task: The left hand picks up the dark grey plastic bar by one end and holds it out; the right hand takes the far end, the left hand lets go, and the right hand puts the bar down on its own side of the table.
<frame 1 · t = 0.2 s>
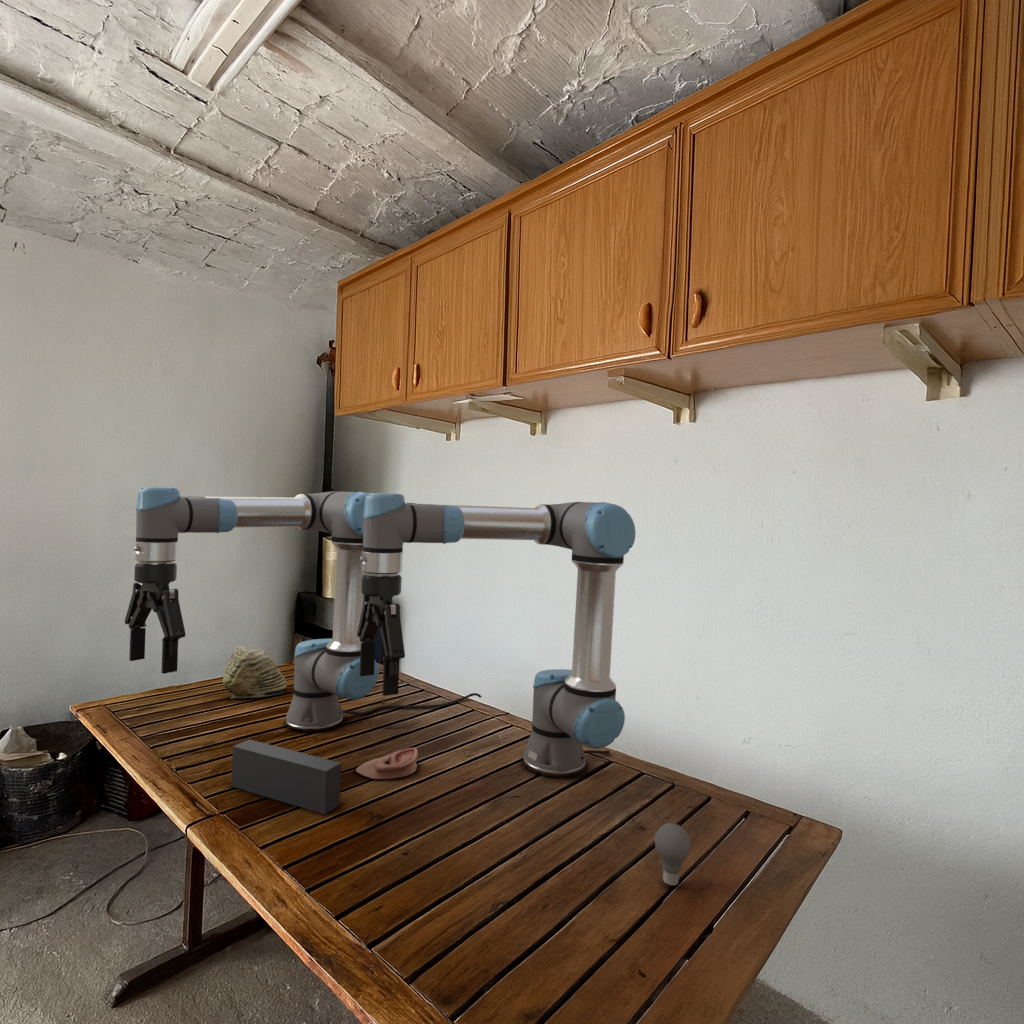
left hand: (152, 665, 130), 27 cm above the table, tool pointing down, fingers open, 13 cm apart
right hand: (378, 684, 121), 28 cm above the table, tool pointing down, fingers open, 13 cm apart
fossil: (254, 694, 198), on the table
light bulb: (670, 884, 108), on the table
bar: (284, 795, 134), on the table
anatomical model: (387, 770, 148), on the table
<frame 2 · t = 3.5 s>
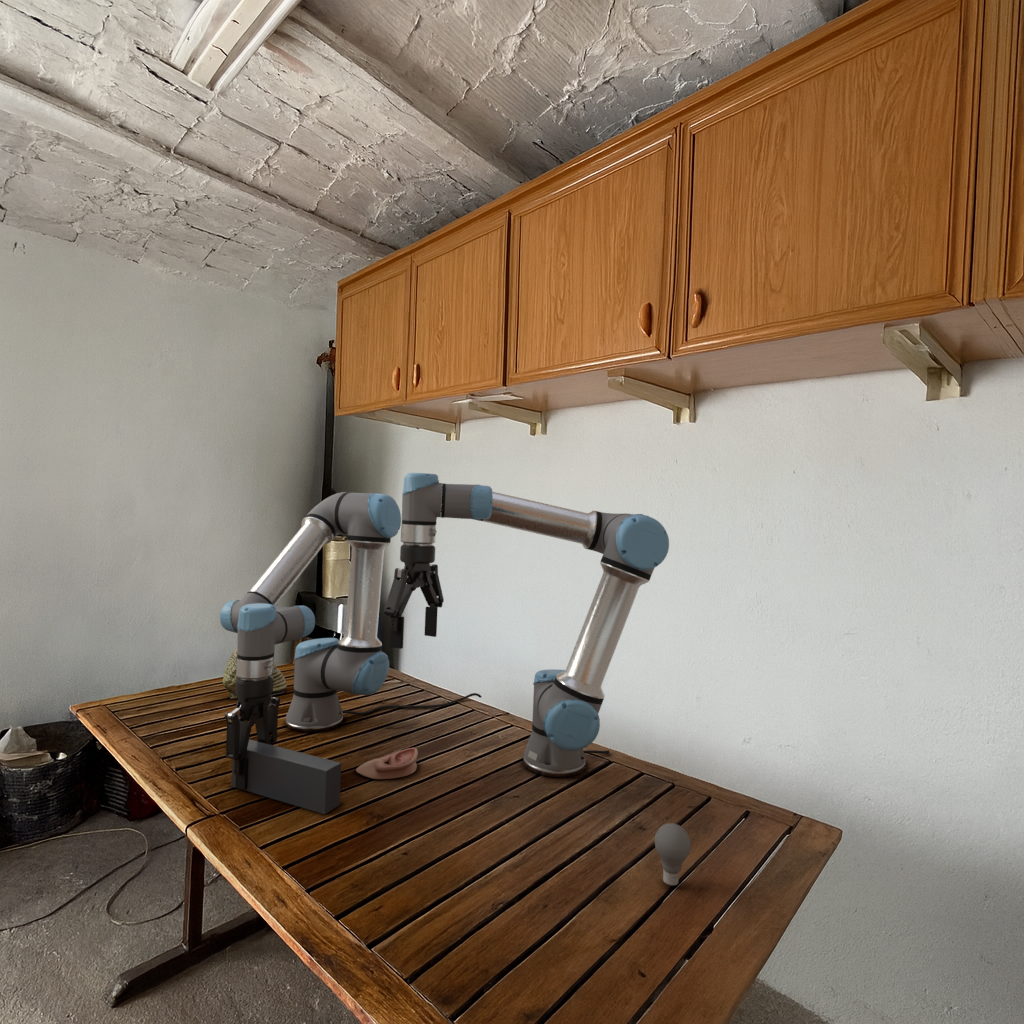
left hand: (251, 782, 137), 1 cm above the table, tool pointing down, fingers closed on bar, 5 cm apart
right hand: (414, 641, 138), 33 cm above the table, tool pointing down, fingers open, 13 cm apart
bar: (284, 795, 134), on the table, touching left hand
everything else where it was.
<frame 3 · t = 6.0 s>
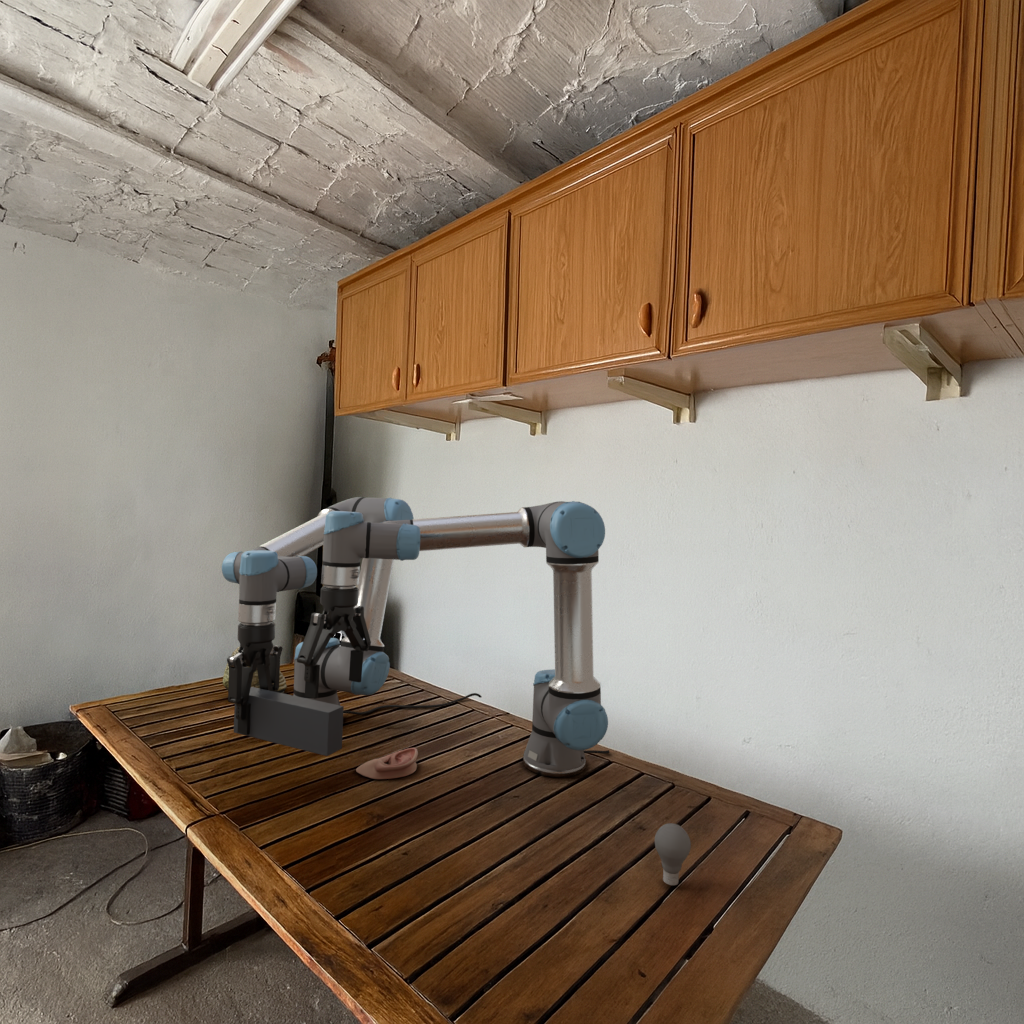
left hand: (253, 729, 137), 12 cm above the table, tool pointing down, fingers closed on bar, 5 cm apart
right hand: (334, 688, 130), 24 cm above the table, tool pointing down, fingers open, 13 cm apart
bar: (286, 740, 133), point 12 cm above the table, touching left hand
everything else where it was.
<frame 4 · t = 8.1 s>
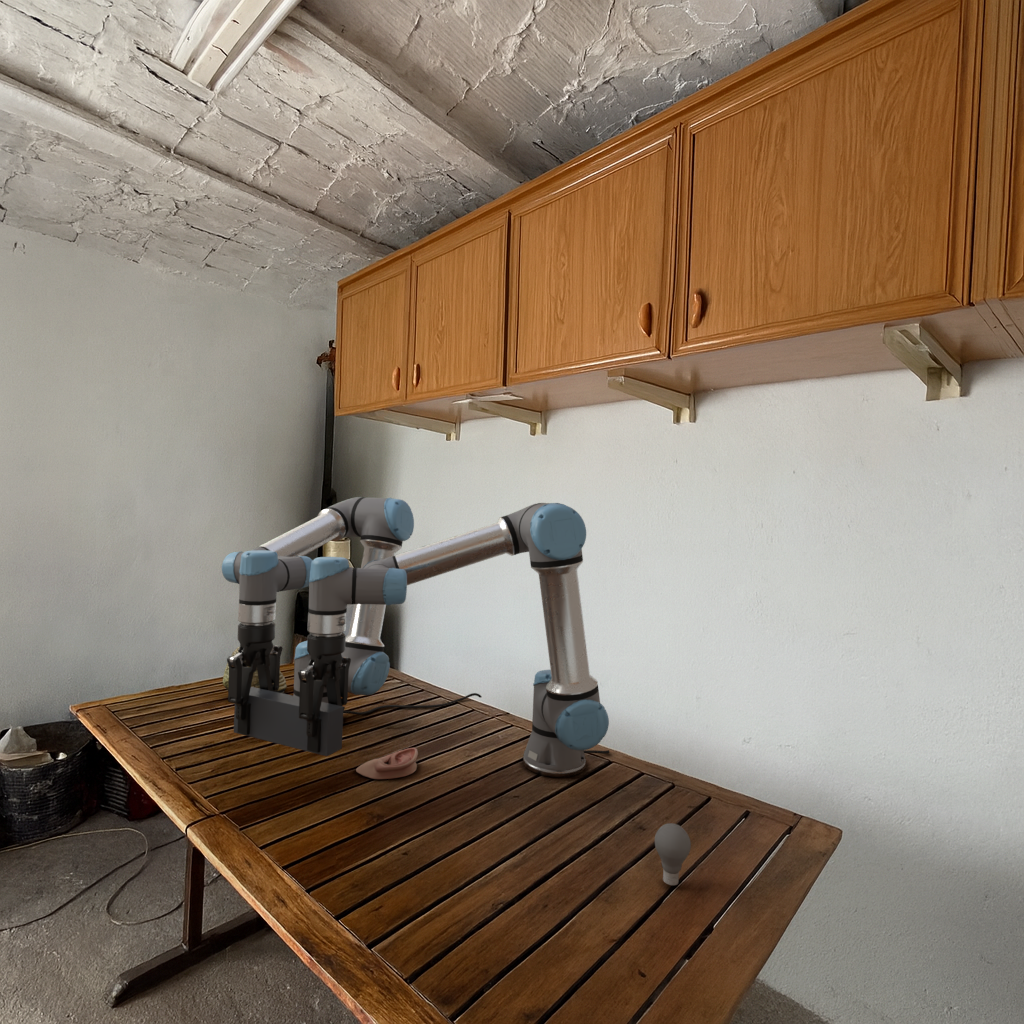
left hand: (253, 729, 137), 12 cm above the table, tool pointing down, fingers closed on bar, 5 cm apart
right hand: (322, 746, 130), 12 cm above the table, tool pointing down, fingers closed on bar, 5 cm apart
bar: (286, 740, 133), point 12 cm above the table, touching left hand, right hand
everything else where it was.
when the left hand's fingers open (12 cm above the table, at t = 8.6 s): bar stays where it is, held by the right hand.
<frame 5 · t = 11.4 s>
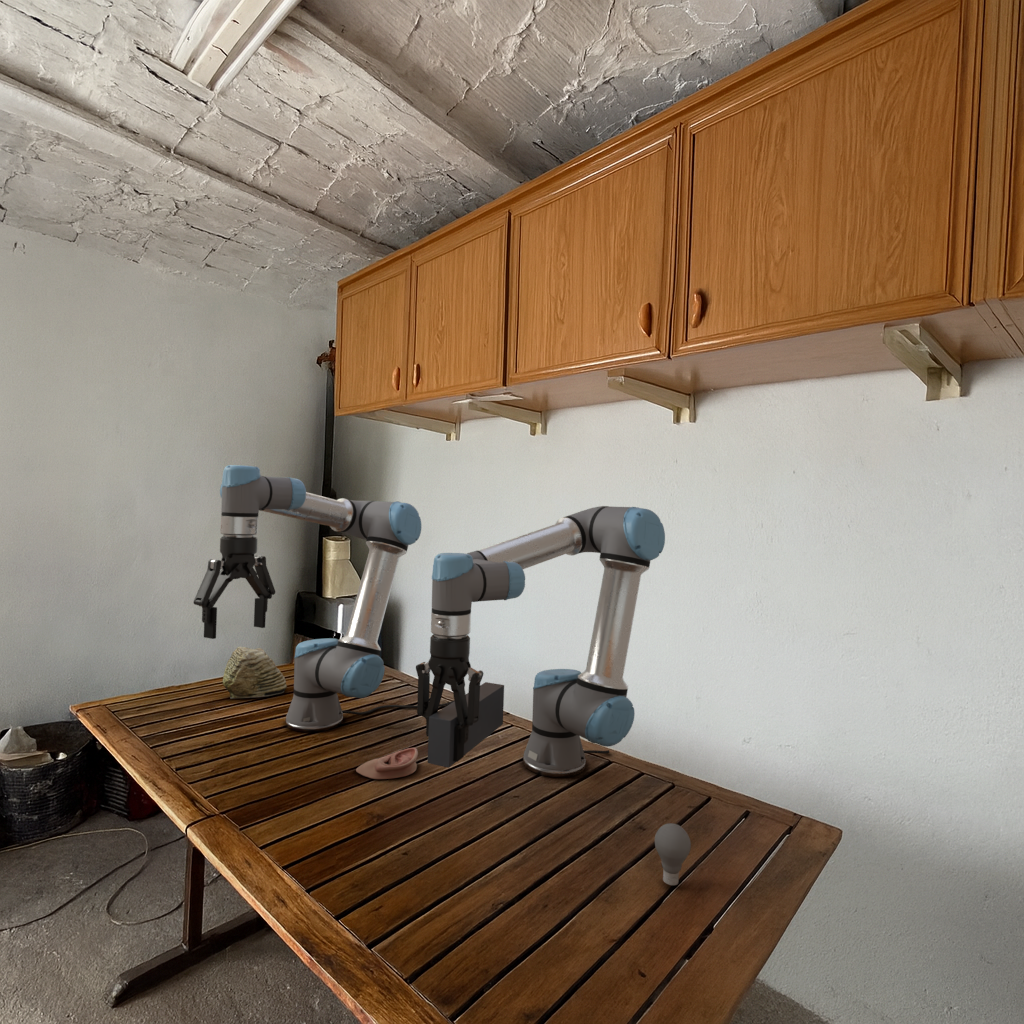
left hand: (235, 632, 139), 33 cm above the table, tool pointing down, fingers open, 13 cm apart
right hand: (446, 756, 121), 15 cm above the table, tool pointing down, fingers closed on bar, 5 cm apart
bar: (468, 742, 130), point 14 cm above the table, touching right hand
everything else where it was.
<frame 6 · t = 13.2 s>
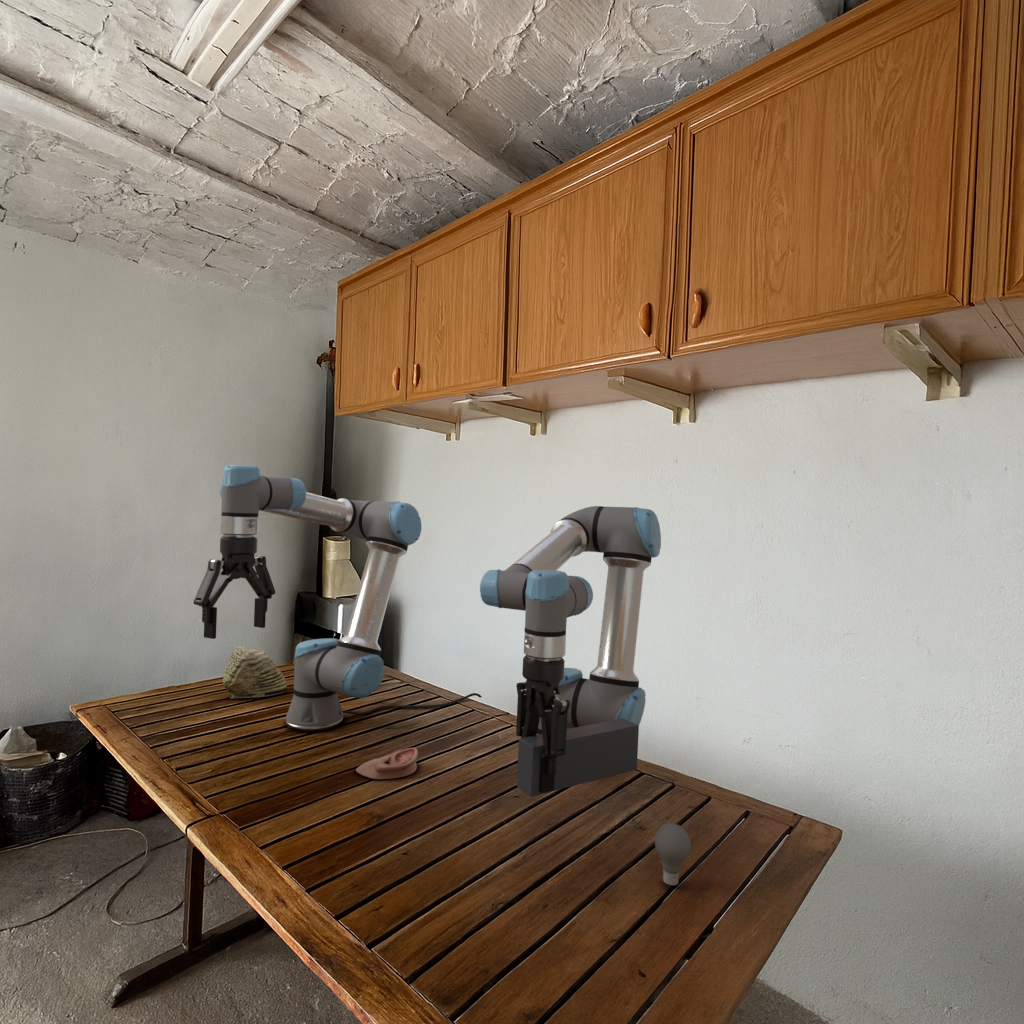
left hand: (235, 632, 139), 33 cm above the table, tool pointing down, fingers open, 13 cm apart
right hand: (537, 784, 114), 13 cm above the table, tool pointing down, fingers closed on bar, 5 cm apart
bar: (579, 777, 120), point 13 cm above the table, touching right hand
everything else where it was.
when the right hand's fingers open (2 cm above the table, at t = 14.7 s): bar drops 2 cm, on the table.
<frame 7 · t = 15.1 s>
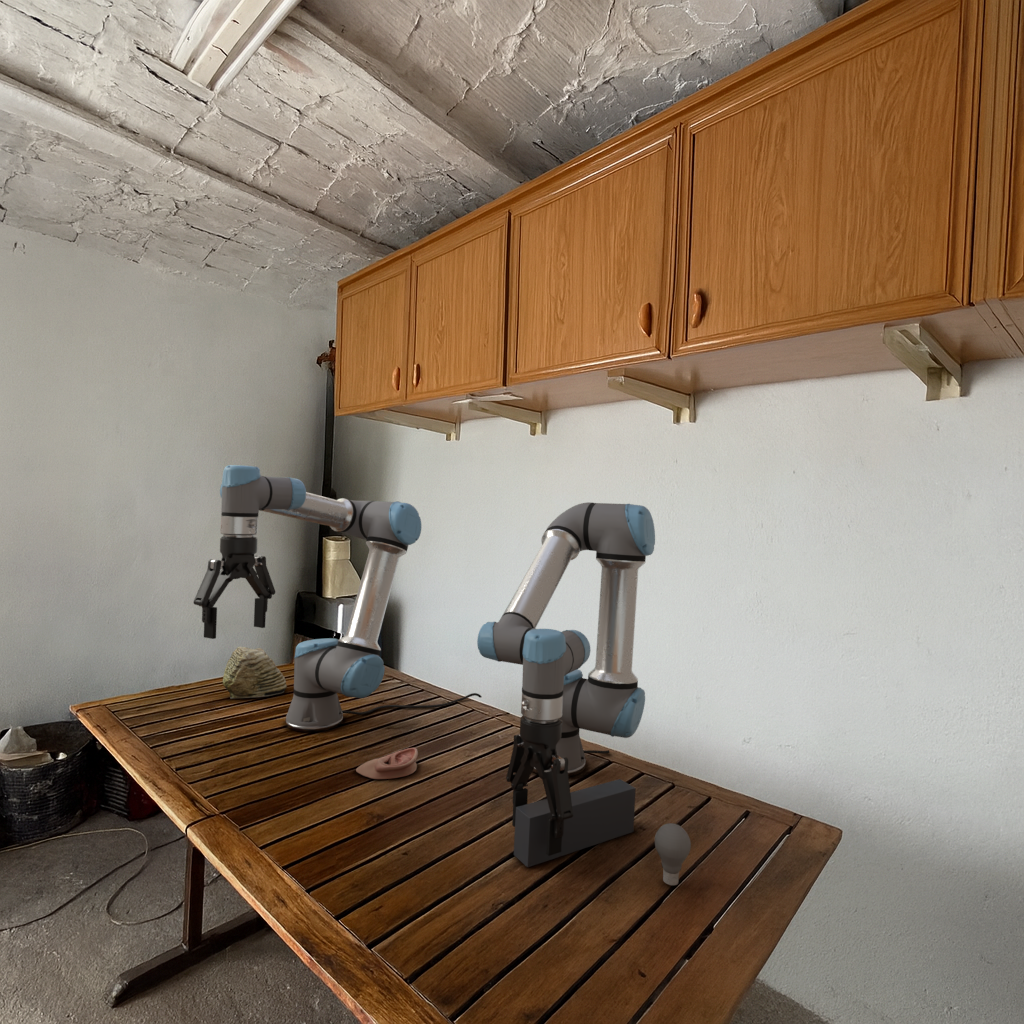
left hand: (235, 632, 139), 33 cm above the table, tool pointing down, fingers open, 13 cm apart
right hand: (535, 838, 115), 3 cm above the table, tool pointing down, fingers open, 10 cm apart
bar: (576, 843, 120), on the table
everything else where it was.
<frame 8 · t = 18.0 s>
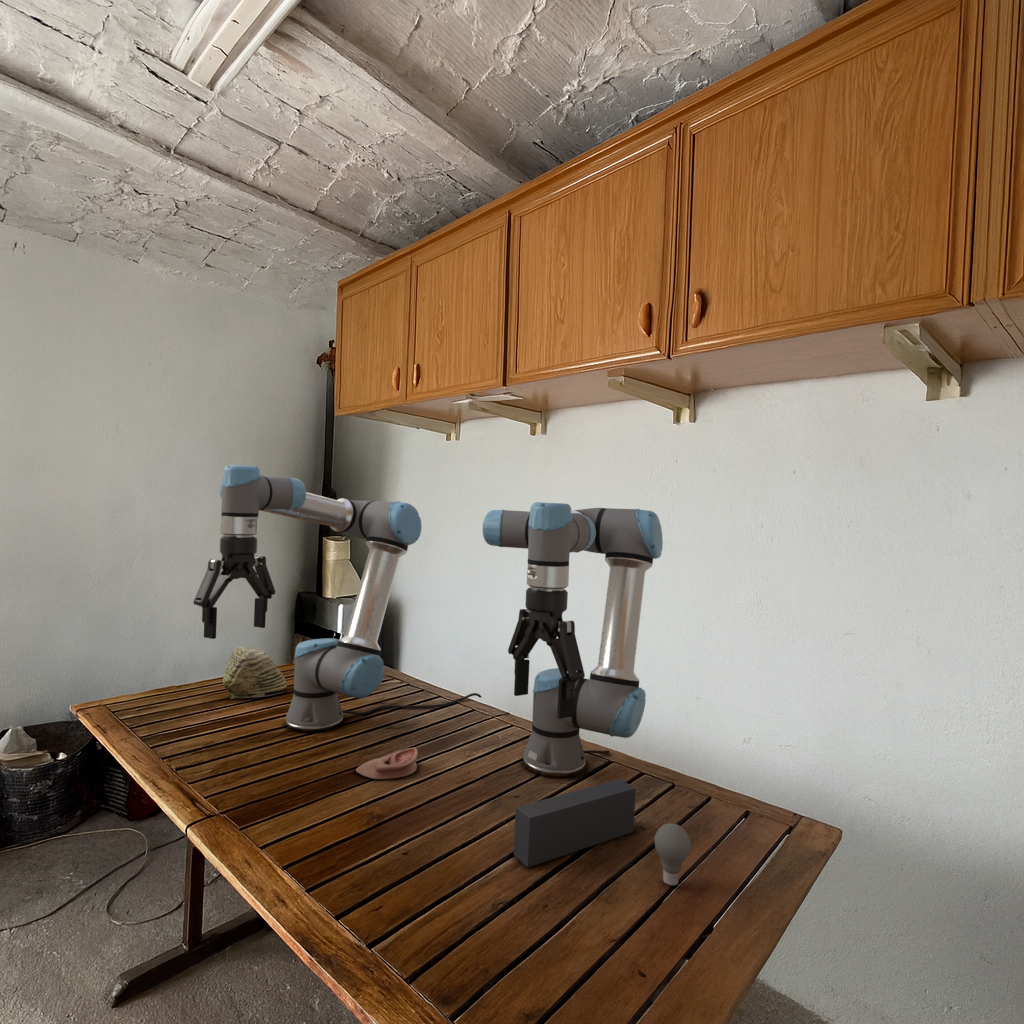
left hand: (235, 632, 139), 33 cm above the table, tool pointing down, fingers open, 13 cm apart
right hand: (541, 705, 114), 28 cm above the table, tool pointing down, fingers open, 13 cm apart
nothing on the table moved.
at the end: bar inside the target area (9.6 cm from its centre), on the table; the left hand is holding nothing; the right hand is holding nothing; bar at rest at the end (0.0 cm/s) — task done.
